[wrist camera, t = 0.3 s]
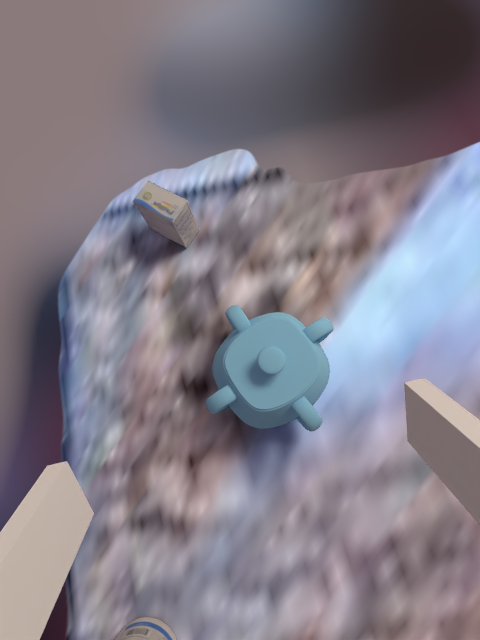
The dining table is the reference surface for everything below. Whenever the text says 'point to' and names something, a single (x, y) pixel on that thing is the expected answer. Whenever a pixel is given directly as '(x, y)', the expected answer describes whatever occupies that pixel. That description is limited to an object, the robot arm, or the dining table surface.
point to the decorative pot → (271, 370)
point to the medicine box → (167, 213)
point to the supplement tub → (146, 630)
